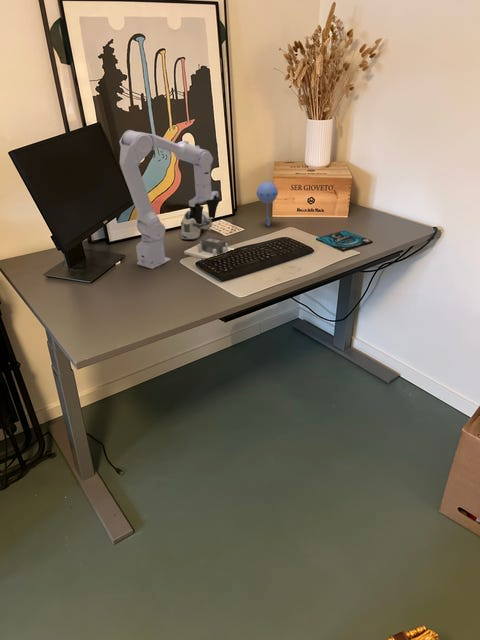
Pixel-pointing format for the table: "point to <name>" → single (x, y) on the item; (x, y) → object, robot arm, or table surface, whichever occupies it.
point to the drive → (213, 245)
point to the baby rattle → (267, 195)
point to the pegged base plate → (198, 252)
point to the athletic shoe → (194, 225)
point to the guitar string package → (344, 240)
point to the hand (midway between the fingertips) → (205, 220)
